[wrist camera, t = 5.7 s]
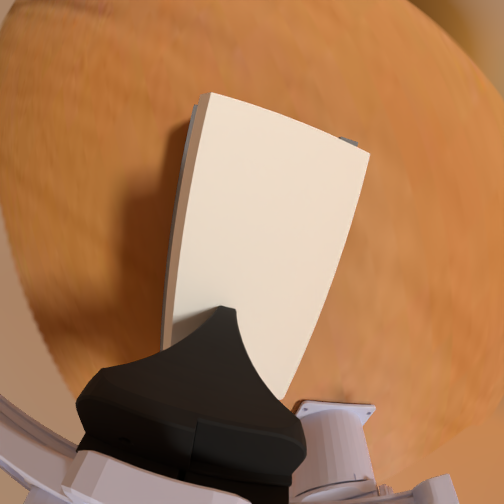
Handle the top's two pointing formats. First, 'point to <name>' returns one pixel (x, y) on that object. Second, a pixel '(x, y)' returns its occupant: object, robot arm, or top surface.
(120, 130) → the top surface
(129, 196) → the top surface
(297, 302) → the panel
